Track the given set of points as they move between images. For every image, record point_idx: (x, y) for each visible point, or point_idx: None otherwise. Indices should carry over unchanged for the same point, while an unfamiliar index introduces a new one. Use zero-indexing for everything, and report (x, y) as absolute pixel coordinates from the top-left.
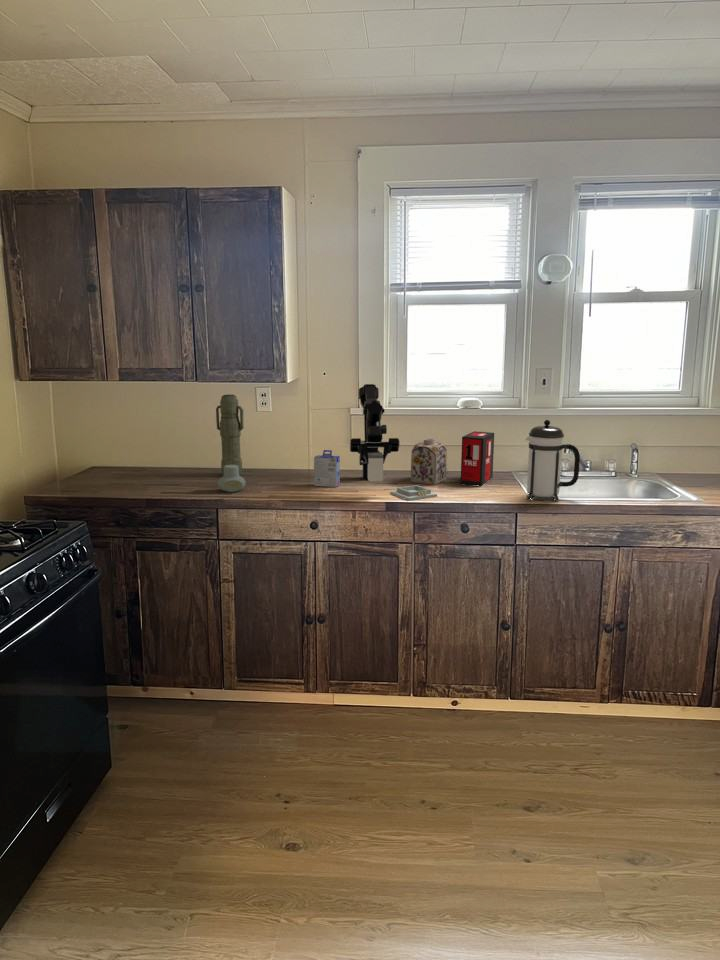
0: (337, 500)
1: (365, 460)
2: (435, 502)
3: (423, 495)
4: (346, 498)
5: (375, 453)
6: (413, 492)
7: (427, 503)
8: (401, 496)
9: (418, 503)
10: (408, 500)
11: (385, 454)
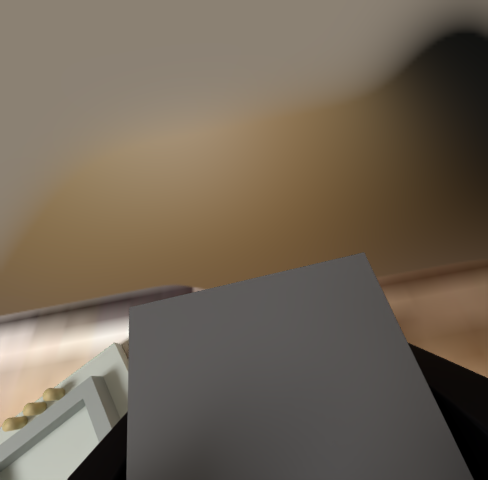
0: (441, 293)
1: None
2: (19, 335)
3: (33, 415)
4: (417, 340)
5: (284, 477)
6: (72, 390)
7: (55, 312)
8: None
9: (89, 306)
10: (121, 346)
11: (78, 476)
